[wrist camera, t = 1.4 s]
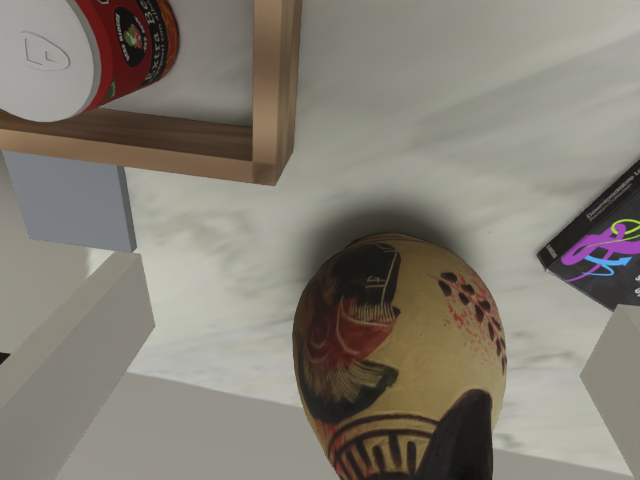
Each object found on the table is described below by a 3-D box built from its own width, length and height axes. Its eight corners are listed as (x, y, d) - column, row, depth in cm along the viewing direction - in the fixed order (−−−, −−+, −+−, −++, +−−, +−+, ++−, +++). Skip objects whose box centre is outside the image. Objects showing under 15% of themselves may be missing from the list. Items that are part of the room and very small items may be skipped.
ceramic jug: (345, 354, 44) (304, 857, 18) (280, 235, 37) (74, 762, 12) (514, 314, 39) (780, 934, 13) (472, 169, 32) (841, 841, 7)
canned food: (190, 85, 32) (111, 125, 22) (91, 84, 32) (-26, 122, 23) (170, -36, 28) (65, -50, 18) (58, -34, 28) (-98, -46, 19)
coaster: (6, 131, 35) (-3, 135, 34) (120, 146, 35) (114, 150, 34) (37, 233, 40) (29, 238, 40) (136, 247, 40) (131, 253, 39)
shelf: (-19, -117, 27) (-134, -149, 21) (307, -85, 25) (286, -109, 19) (41, 119, 34) (-30, 146, 28) (293, 151, 33) (275, 186, 27)
